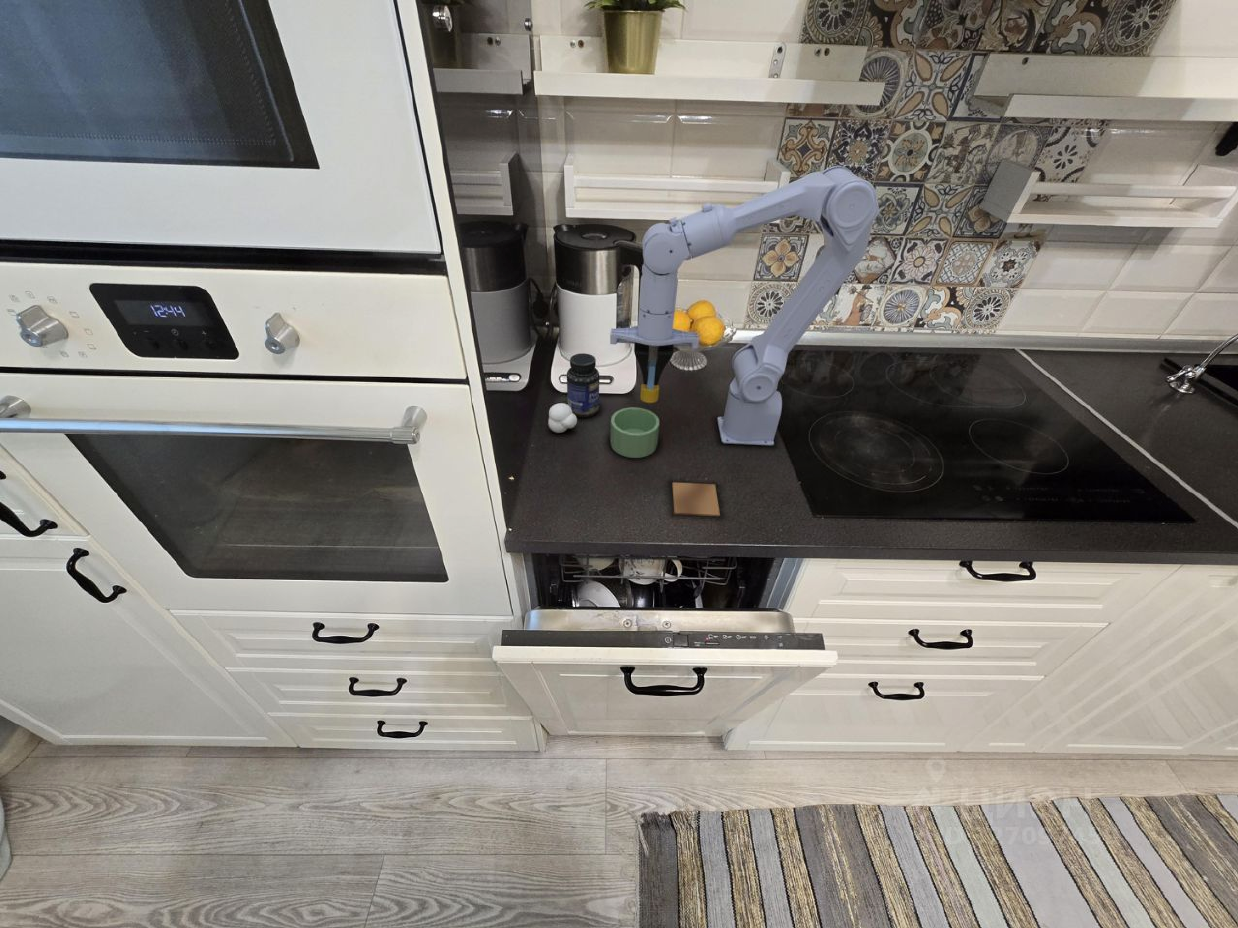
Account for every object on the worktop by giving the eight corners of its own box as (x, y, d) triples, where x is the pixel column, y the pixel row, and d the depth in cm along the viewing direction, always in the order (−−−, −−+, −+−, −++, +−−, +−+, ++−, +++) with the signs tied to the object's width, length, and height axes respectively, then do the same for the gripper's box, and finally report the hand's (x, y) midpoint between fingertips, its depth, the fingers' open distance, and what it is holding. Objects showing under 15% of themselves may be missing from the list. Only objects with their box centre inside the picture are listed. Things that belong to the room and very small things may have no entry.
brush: (657, 394, 93) (661, 359, 89) (658, 403, 91) (661, 368, 86) (640, 393, 93) (642, 358, 89) (640, 402, 91) (642, 367, 86)
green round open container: (656, 430, 96) (658, 408, 92) (657, 459, 89) (659, 436, 86) (611, 428, 96) (612, 406, 93) (609, 456, 89) (610, 433, 86)
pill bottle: (594, 420, 98) (595, 369, 90) (563, 416, 98) (561, 365, 91) (602, 403, 102) (602, 353, 95) (572, 399, 103) (571, 349, 96)
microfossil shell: (553, 421, 97) (551, 396, 93) (580, 425, 96) (580, 400, 93) (546, 435, 93) (544, 410, 90) (574, 439, 93) (574, 414, 89)
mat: (714, 486, 84) (715, 484, 84) (719, 516, 79) (719, 514, 79) (672, 484, 84) (672, 482, 84) (674, 514, 79) (674, 512, 79)
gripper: (700, 300, 84) (690, 372, 93) (612, 295, 84) (610, 368, 93) (704, 318, 79) (693, 393, 87) (610, 313, 79) (608, 388, 88)
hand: (650, 382), depth 90 cm, fingers closed on brush
